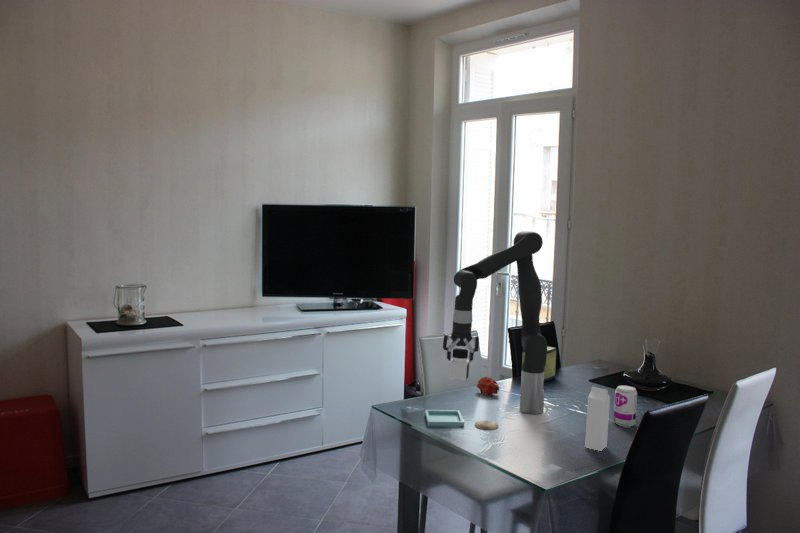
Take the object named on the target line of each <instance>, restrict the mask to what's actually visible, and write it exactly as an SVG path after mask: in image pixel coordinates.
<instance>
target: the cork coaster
mask: <svg viewBox="0 0 800 533" xmlns="http://www.w3.org/2000/svg"><path fill="white" fill-rule="evenodd" d="M474 426H475V427H476V428H477V429H479V430H480V429H481V430H484V431H494V430H497V429H498V428H499V424H498V423H497V422H495V421H492V420H477V421H476V422H474Z"/></svg>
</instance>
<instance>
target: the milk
mask: <svg viewBox="0 0 800 533" xmlns="http://www.w3.org/2000/svg"><path fill="white" fill-rule="evenodd" d="M610 402H611V396H610V395H609V390H608V389H605V388H602V387H601V388H600V387H596V386H591V389H590V393H589V394H588V397H587V410H586V423H585V424H586V425H585V438H584V439H585V440H584V441H585V442H584V448H585V447H586V448H585V449H587V448H589V449H588V450H591V449H594V450H593V451H595V450H598V451H597V452H599V451H602V450H603V449H604V448H605V447H606V448H607V447H608V446H607V445H608V436H609V434H608V432H609V418H610V406H611V405H610V404H611V403H610ZM606 448H605V449H606ZM605 449H604V450H605ZM604 450H603V451H604ZM603 451H602V452H603Z"/></svg>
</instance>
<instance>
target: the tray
mask: <svg viewBox="0 0 800 533" xmlns="http://www.w3.org/2000/svg"><path fill="white" fill-rule="evenodd" d="M424 416H425V419H426V424H427V427H429V428H431V427H433V428H435V427H436V428H465V420H464V418H463V415H462V413H461V410H459V409H457V410H456V409H455V410H454V409H453V410H452V409H451V410H450V409H424Z"/></svg>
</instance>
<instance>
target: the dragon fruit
mask: <svg viewBox="0 0 800 533" xmlns="http://www.w3.org/2000/svg"><path fill="white" fill-rule="evenodd" d="M476 388H478V390H479V392H480V394H481V395H482V394H485V395H486V396H487V397H493V396H494V395H493V394H495V395H497V394H498V392H499V391H500V386H499V384H498V382H497V381H496V380H493V378H492V377H488V376H484V377H481V378H479V380H478V382H477V384H476Z"/></svg>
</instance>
